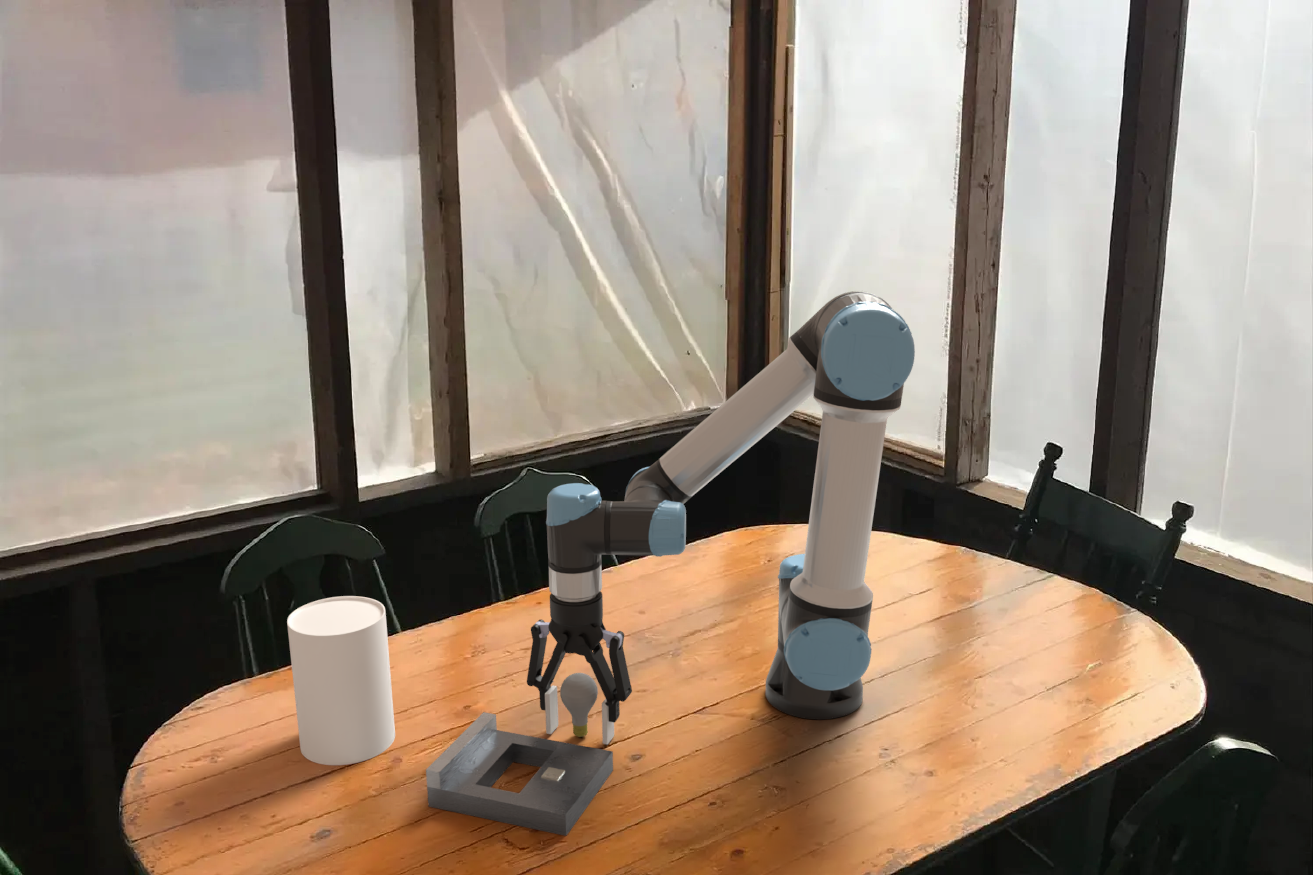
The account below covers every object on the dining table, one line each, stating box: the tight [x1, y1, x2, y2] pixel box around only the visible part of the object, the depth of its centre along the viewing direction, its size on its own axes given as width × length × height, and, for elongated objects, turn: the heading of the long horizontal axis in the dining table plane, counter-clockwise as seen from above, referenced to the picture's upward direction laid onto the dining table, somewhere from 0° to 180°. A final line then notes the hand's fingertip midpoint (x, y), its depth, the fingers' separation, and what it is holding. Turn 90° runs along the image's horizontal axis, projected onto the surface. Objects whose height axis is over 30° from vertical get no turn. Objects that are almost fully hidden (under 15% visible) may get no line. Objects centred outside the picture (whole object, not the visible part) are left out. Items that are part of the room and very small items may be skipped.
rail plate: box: [425, 711, 614, 837], centre depth 155 cm, size 20×16×6 cm
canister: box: [286, 595, 396, 766], centre depth 166 cm, size 14×14×20 cm
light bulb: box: [559, 672, 599, 738], centre depth 167 cm, size 5×5×10 cm
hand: (580, 734), depth 169 cm, fingers open, 8 cm apart
